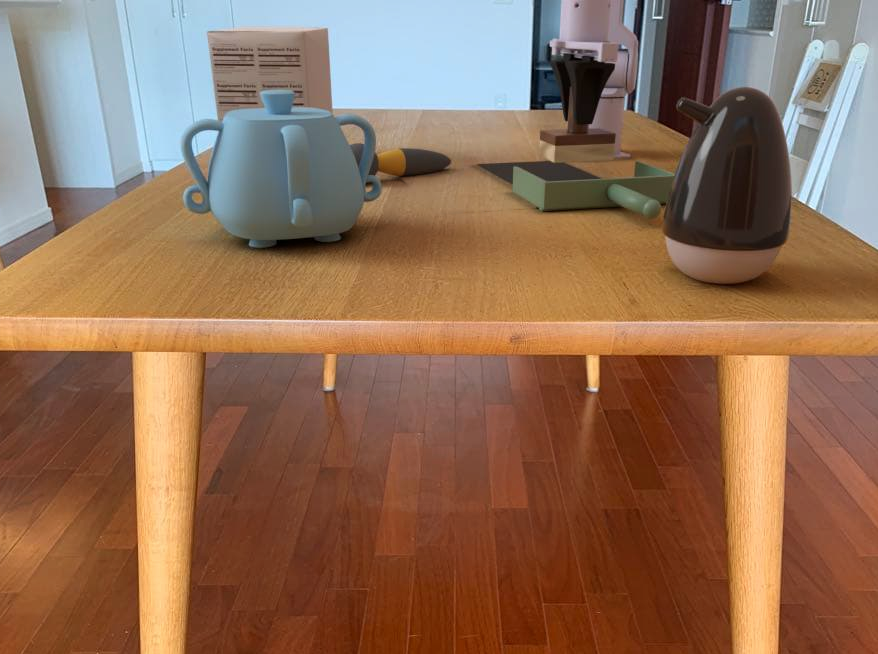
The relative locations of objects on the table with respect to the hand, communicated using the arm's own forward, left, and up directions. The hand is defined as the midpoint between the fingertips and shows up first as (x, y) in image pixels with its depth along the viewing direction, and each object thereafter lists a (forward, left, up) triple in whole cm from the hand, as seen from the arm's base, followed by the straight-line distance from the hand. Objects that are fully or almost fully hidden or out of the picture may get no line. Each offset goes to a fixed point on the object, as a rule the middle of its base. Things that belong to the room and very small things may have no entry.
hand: (578, 122), depth 99 cm
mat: (-10, -1, -8) cm, 13 cm away
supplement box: (-29, -34, -8) cm, 46 cm away
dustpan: (+11, 0, -8) cm, 14 cm away
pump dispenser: (+38, -3, -8) cm, 39 cm away
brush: (0, 0, -4) cm, 4 cm away
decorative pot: (+14, -37, -8) cm, 40 cm away
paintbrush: (-13, -21, -8) cm, 26 cm away
